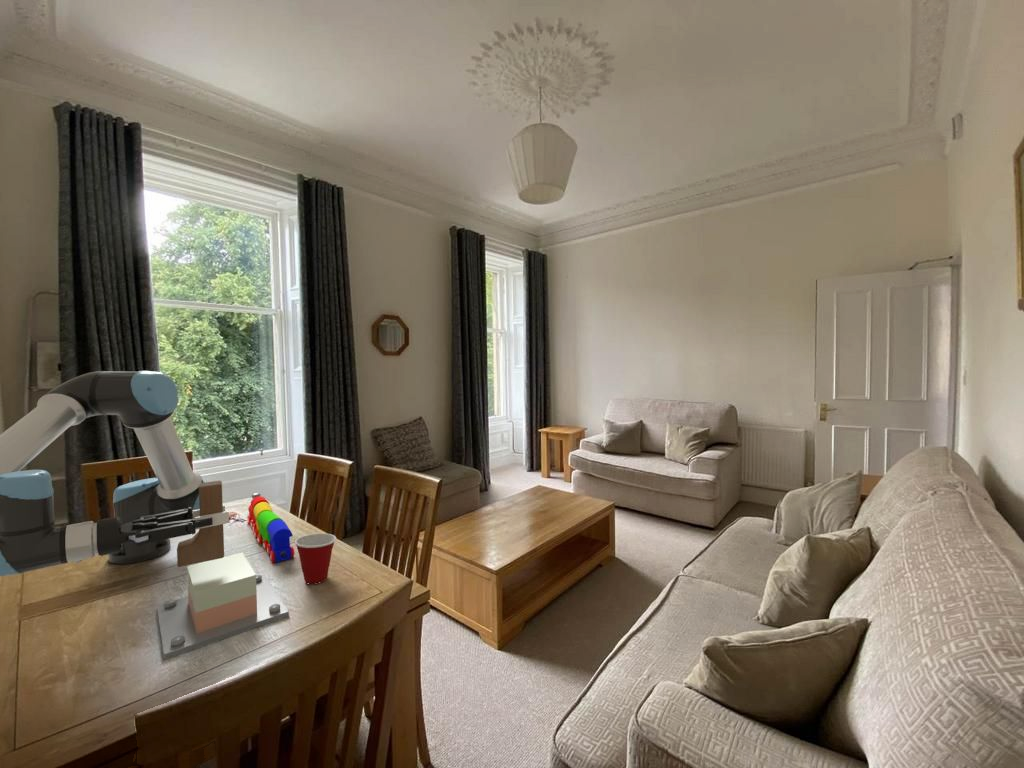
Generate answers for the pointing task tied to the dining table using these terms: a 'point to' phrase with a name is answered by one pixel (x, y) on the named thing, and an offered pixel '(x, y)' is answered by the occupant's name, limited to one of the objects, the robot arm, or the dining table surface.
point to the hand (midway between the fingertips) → (226, 513)
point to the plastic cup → (315, 556)
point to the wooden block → (205, 529)
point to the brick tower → (218, 605)
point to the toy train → (269, 529)
